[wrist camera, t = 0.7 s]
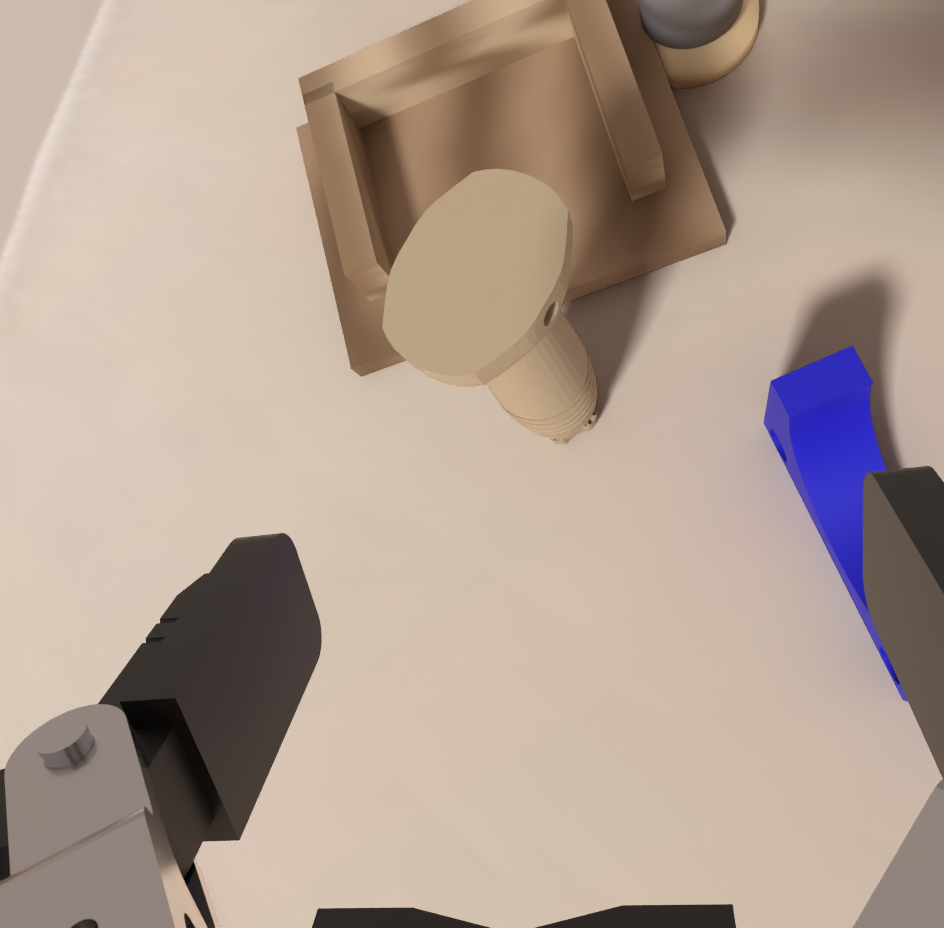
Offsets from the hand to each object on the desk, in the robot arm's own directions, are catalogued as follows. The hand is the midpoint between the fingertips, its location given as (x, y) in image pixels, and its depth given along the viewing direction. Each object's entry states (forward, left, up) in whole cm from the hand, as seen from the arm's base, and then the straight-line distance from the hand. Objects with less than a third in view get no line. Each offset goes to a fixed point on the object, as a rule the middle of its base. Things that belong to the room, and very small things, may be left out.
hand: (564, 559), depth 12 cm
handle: (+2, -10, -25) cm, 27 cm away
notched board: (+2, -22, -25) cm, 34 cm away
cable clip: (-9, -1, -25) cm, 27 cm away
